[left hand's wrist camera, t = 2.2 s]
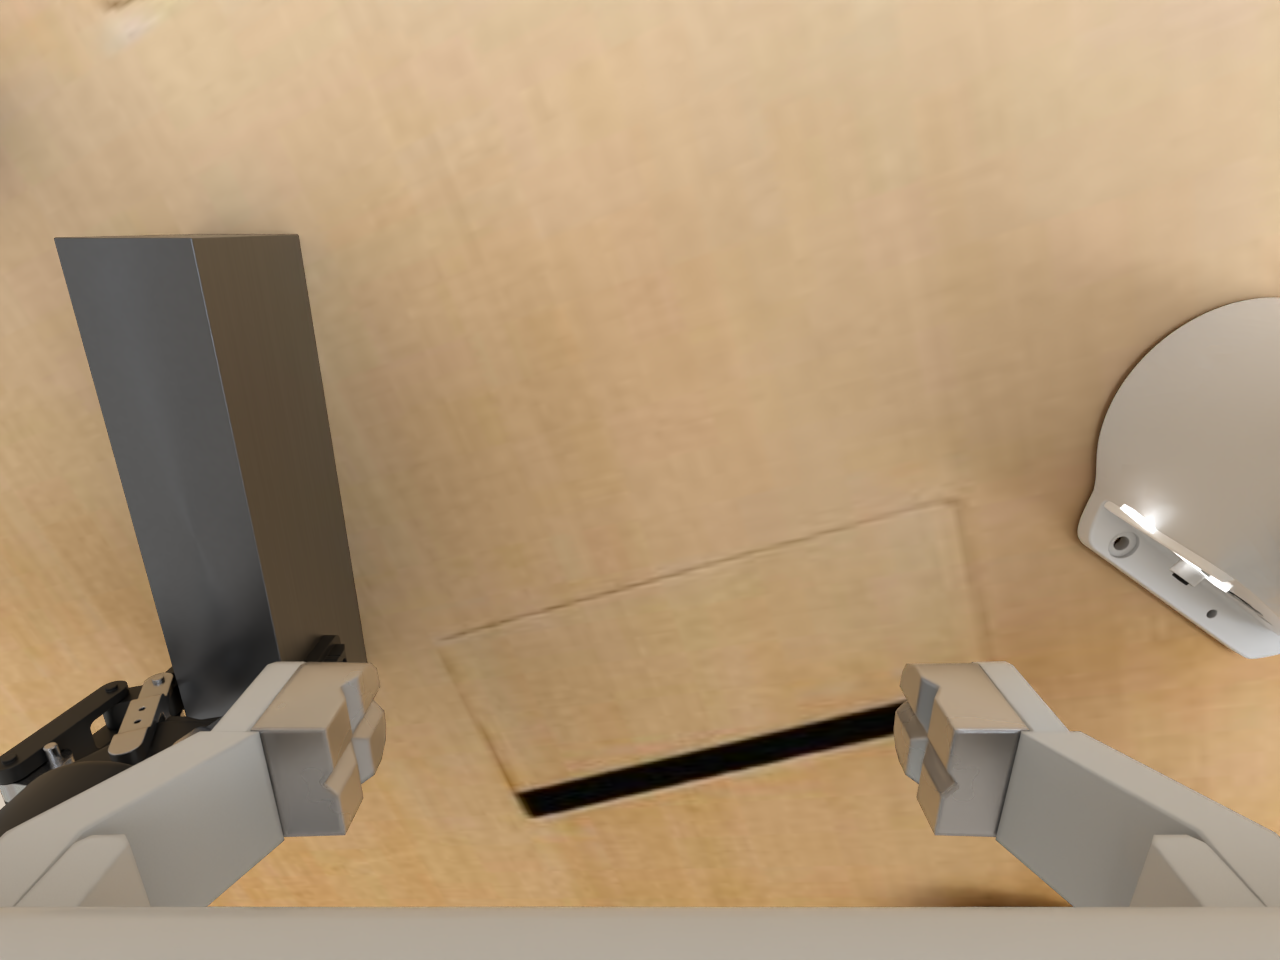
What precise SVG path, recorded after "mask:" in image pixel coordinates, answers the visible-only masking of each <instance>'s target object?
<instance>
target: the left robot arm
mask: <svg viewBox="0 0 1280 960" xmlns="http://www.w3.org/2000/svg"><path fill="white" fill-rule="evenodd" d="M1077 533H1078V538H1079V540H1080V541H1081V542H1082V543H1083V544H1084V545H1085V546H1086V547H1088V548H1089V549H1091V550H1092V551H1093V552H1095V553H1096V554H1098V555H1099V556H1100V557H1102V558H1103V559H1105V560H1106V561H1107V562H1109V563H1110V564H1112V565H1113V566H1114V567H1116V568H1117V569H1118V570H1120V571H1121V572H1123V573H1124V574H1125V575H1127V576H1128V577H1130V578H1131V579H1132V580H1134V581H1135V582H1137V583H1138V584H1139V585H1141V586H1142V587H1144V588H1145V589H1146V590H1148V591H1149V592H1151V593H1152V594H1153V595H1155V596H1156V597H1157V598H1159V599H1160V600H1162V601H1163V602H1164V603H1166V604H1167V605H1169V606H1170V607H1171V608H1173V609H1174V610H1176V611H1177V612H1178V613H1180V614H1181V615H1183V616H1184V617H1185V618H1187V619H1188V620H1190V621H1191V622H1192V623H1194V624H1195V625H1196V626H1198V627H1199V628H1201V629H1202V630H1203V631H1205V632H1206V633H1208V634H1209V635H1210V636H1212V637H1213V638H1215V639H1216V640H1217V641H1219V642H1220V643H1222V644H1223V645H1225V646H1226V647H1227V648H1229V649H1231V650H1232V651H1234V652H1236V653H1238V654H1239V655H1241V656H1243V657H1245V658H1248V659H1256V658H1263V657H1268V656H1273V655H1278V654H1280V297H1267V298H1255V299H1249V300H1244V301H1239V302H1235V303H1232V304H1228V305H1225V306H1222V307H1219V308H1217V309H1214V310H1212V311H1209V312H1207V313H1205V314H1202V315H1201V316H1199V317H1197V318H1195V319H1193V320H1191V321H1189V322H1188V323H1186V324H1184V325H1183V326H1181V327H1180V328H1178V329H1177V330H1175V331H1174V332H1172V333H1171V334H1169V335H1168V336H1167V337H1166V338H1164V339H1163V340H1162V341H1161V342H1159V343H1158V344H1157V345H1156V346H1155V347H1154V348H1153V349H1152V350H1150V351H1149V352H1148V353H1147V354H1146V355H1145V356H1144V357H1143V358H1142V360H1141V361H1140V362H1139V363H1138V364H1137V365H1136V366H1135V367H1134V369H1133V370H1132V371H1131V372H1130V374H1129V375H1128V376H1127V378H1126V379H1125V380H1124V382H1123V384H1122V385H1121V387H1120V388H1119V390H1118V391H1117V393H1116V395H1115V397H1114V398H1113V400H1112V402H1111V404H1110V406H1109V409H1108V411H1107V413H1106V416H1105V419H1104V422H1103V425H1102V428H1101V432H1100V435H1099V440H1098V446H1097V457H1096V479H1095V485H1094V490H1093V492H1092V494H1091V496H1090V498H1089V500H1088V502H1087V504H1086V507H1085V509H1084V511H1083V513H1082V516H1081V518H1080V521H1079V524H1078V529H1077ZM1119 537H1121V538H1120V540H1119V542H1117V543H1116V544H1114V542H1115V540H1116V539H1117V538H1119ZM379 688H380V683H379V677H378V672H377V668H376V667H375V666H374V665H373V664H372V663H347V662H274V663H271V664H268V665H267V666H266V667H265V668H264V669H263V670H262V672H261V673H260V674H259V675H258V676H257V677H256V679H255V680H254V681H253V682H252V683H251V684H250V686H249V687H248V688H247V689H246V690H245V691H244V693H243V694H242V695H241V696H240V697H239V698H238V700H237V701H236V702H235V703H234V704H233V705H232V707H231V708H230V709H229V710H228V711H227V713H226V714H225V715H224V716H223V717H222V718H221V720H220V721H219V722H218V723H217V724H216V725H215V727H214V728H213V729H212V730H211V731H200V732H198V733H196V734H194V735H192V736H190V737H188V738H186V739H184V740H182V741H180V742H178V743H176V744H175V745H173V746H171V747H169V748H167V749H165V750H163V751H161V752H159V753H157V754H155V755H153V756H151V757H149V758H148V759H146V760H144V761H142V762H140V763H138V764H136V765H134V766H132V767H130V768H128V769H126V770H124V771H122V772H120V773H119V774H117V775H115V776H113V777H111V778H109V779H107V780H105V781H103V782H101V783H99V784H97V785H95V786H93V787H91V788H90V789H88V790H86V791H84V792H82V793H80V794H78V795H76V796H74V797H72V798H70V799H68V800H66V801H64V802H63V803H61V804H59V805H57V806H55V807H53V808H51V809H49V810H47V811H45V812H43V813H41V814H39V815H37V816H35V817H34V818H32V819H30V820H28V821H26V822H24V823H22V824H20V825H18V826H16V827H14V828H12V829H10V830H8V831H7V832H5V833H4V834H3V835H2V836H1V837H0V960H1280V837H1279V836H1278V835H1277V834H1276V833H1275V832H1273V831H1271V830H1269V829H1267V828H1265V827H1263V826H1261V825H1259V824H1258V823H1256V822H1254V821H1252V820H1250V819H1248V818H1246V817H1244V816H1242V815H1240V814H1238V813H1236V812H1234V811H1232V810H1231V809H1229V808H1227V807H1225V806H1223V805H1221V804H1219V803H1217V802H1215V801H1213V800H1211V799H1209V798H1207V797H1206V796H1204V795H1202V794H1200V793H1198V792H1196V791H1194V790H1192V789H1190V788H1188V787H1186V786H1184V785H1182V784H1180V783H1179V782H1177V781H1175V780H1173V779H1171V778H1169V777H1167V776H1165V775H1163V774H1161V773H1159V772H1157V771H1155V770H1154V769H1152V768H1150V767H1148V766H1146V765H1144V764H1142V763H1140V762H1138V761H1136V760H1134V759H1132V758H1130V757H1128V756H1127V755H1125V754H1123V753H1121V752H1119V751H1117V750H1115V749H1113V748H1111V747H1109V746H1107V745H1105V744H1103V743H1102V742H1100V741H1098V740H1096V739H1094V738H1092V737H1090V736H1088V735H1086V734H1084V733H1082V732H1080V731H1069V730H1068V729H1067V728H1066V727H1065V725H1064V724H1063V723H1062V722H1061V721H1060V720H1059V718H1058V717H1057V716H1056V715H1055V714H1054V713H1053V711H1052V710H1051V709H1050V708H1049V707H1048V706H1047V704H1046V703H1045V702H1044V701H1043V700H1042V699H1041V697H1040V696H1039V695H1038V694H1037V693H1036V691H1035V690H1034V689H1033V688H1032V687H1031V686H1030V684H1029V683H1028V682H1027V681H1026V680H1025V679H1024V677H1023V676H1022V675H1021V674H1020V673H1019V672H1018V670H1017V669H1016V668H1015V667H1014V666H1013V665H1012V664H1010V663H1008V662H1006V661H993V662H972V663H931V664H906V666H905V668H904V670H903V672H902V676H901V682H900V688H901V690H902V691H903V693H904V695H905V697H906V699H907V700H906V701H905V702H904V703H903V704H902V705H901V706H900V707H899V708H898V709H897V710H896V714H895V723H894V737H895V748H896V751H897V755H898V758H899V762H900V764H901V766H902V768H903V770H904V773H905V775H907V776H908V777H910V778H911V779H912V780H914V781H915V782H917V783H918V784H919V787H918V793H917V800H918V802H919V804H920V806H921V808H922V810H923V812H924V814H925V816H926V818H927V820H928V822H929V824H930V826H931V828H932V830H933V832H934V834H935V835H948V836H984V837H996V841H998V842H999V843H1000V844H1001V845H1002V846H1003V847H1005V848H1006V849H1007V850H1008V851H1009V852H1010V853H1012V854H1013V855H1014V856H1015V857H1016V858H1017V859H1019V860H1020V861H1021V862H1022V863H1023V864H1024V865H1026V866H1027V867H1028V868H1029V869H1030V870H1031V871H1033V872H1034V873H1035V874H1036V875H1037V876H1038V877H1040V878H1041V879H1042V880H1043V881H1044V882H1045V883H1047V884H1048V885H1049V886H1050V887H1051V888H1052V889H1054V890H1055V891H1056V892H1057V893H1058V894H1059V895H1061V896H1062V897H1063V898H1064V899H1065V900H1066V901H1067V902H1069V903H1070V904H1071V905H1072V906H1073V907H207V906H208V905H209V904H210V903H212V902H213V901H214V900H215V899H216V898H217V897H219V896H220V895H221V894H222V893H223V892H224V891H226V890H227V889H228V888H229V887H230V886H231V885H233V884H234V883H235V882H236V881H237V880H238V879H240V878H241V877H242V876H243V875H244V874H245V873H247V872H248V871H249V870H250V869H251V868H252V867H254V866H255V865H256V864H257V863H258V862H259V861H261V860H262V859H263V858H264V857H265V856H266V855H268V854H269V853H270V852H271V851H272V850H273V849H275V848H276V847H277V846H278V845H279V844H280V843H282V842H283V841H284V837H296V836H330V835H345V834H346V832H347V830H348V828H349V826H350V824H351V822H352V820H353V818H354V816H355V814H356V812H357V810H358V808H359V806H360V804H361V802H362V800H363V793H362V787H361V784H362V783H363V782H365V781H366V780H368V779H369V778H370V777H372V776H373V775H375V773H376V770H377V768H378V766H379V764H380V762H381V759H382V755H383V750H384V746H385V741H386V721H385V714H384V710H383V709H382V708H381V707H380V706H379V705H378V704H377V703H376V702H375V701H374V700H373V699H374V697H375V695H376V693H377V691H378V690H379Z"/></svg>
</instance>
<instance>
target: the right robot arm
mask: <svg viewBox="0 0 1280 960" xmlns="http://www.w3.org/2000/svg"><path fill="white" fill-rule="evenodd" d="M303 662H347V663H348V660H347V654H346V649H345V644H341V641H340V637H339V635H324V636H322V638H321V639H320V640H319V642H318V643H317V644H316V646H315V647H314V648H313V650H312V651H311V652H310V653H309V655H308V656H307V657H306V659H305V660H304V661H303ZM183 710H184V706H183V702H182V699H181V695H180V692H179V688H178V684H177V681H176V677H175V673H174V670H173V666H172V667H171V668H170V669H169V670H168V671H167V672H166V673H159V674H156V675H153V676H151V677H150V678H148V679H147V680H146V681H145V682H144V684H143V685H142V686H136V687H131V688H128V685H127V682H125V681H114V682H111V683H108V684H106V685H104V686H102V687H100V688H99V689H98V690H96V691H95V692H93V693H92V694H90V695H89V696H87V697H86V698H84V699H83V700H82V701H80V702H79V703H77V704H76V705H74V706H73V707H71V708H70V709H69V710H67V711H66V712H64V713H63V714H61V715H60V716H58V717H57V718H55V719H54V720H53V721H51V722H50V723H48V724H47V725H45V726H44V727H42V728H41V729H39V730H38V731H37V732H35V733H34V734H32V735H31V736H29V737H28V738H26V739H25V740H24V741H22V742H21V743H19V744H18V745H16V746H15V747H13V748H12V749H10V750H9V751H8V752H6V753H5V754H3V755H2V756H0V792H1V794H2V797H3V799H4V802H5V804H6V805H5V806H4V807H3V808H2V809H1V810H0V837H1V836H2V835H3V834H4V833H5V832H7V831H8V830H10V829H12V828H14V827H16V826H18V825H20V824H22V823H24V822H26V821H28V820H30V819H32V818H34V817H35V816H37V815H39V814H41V813H43V812H45V811H47V810H49V809H51V808H53V807H55V806H57V805H59V804H61V803H63V802H64V801H66V800H68V799H70V798H72V797H74V796H76V795H78V794H80V793H82V792H84V791H86V790H88V789H90V788H91V787H93V786H95V785H97V784H99V783H101V782H103V781H105V780H107V779H109V778H111V777H113V776H115V775H117V774H119V773H120V772H122V771H124V770H126V769H128V768H130V767H132V766H134V765H136V764H138V763H140V762H142V761H144V760H146V759H148V758H149V757H151V756H153V755H155V754H157V753H159V752H161V751H163V750H165V749H167V748H169V747H171V746H173V745H175V744H176V743H178V742H180V741H182V740H184V739H186V738H188V737H190V736H192V735H194V734H196V733H198V732H200V731H211V730H212V729H213V728H214V727H215V725H216V724H217V723H218V722H219V721H220V720H221V718H222V717H223V716H224V715H223V716H220V717H214V718H207V719H196V718H191V717H186V716H184V713H183ZM102 714H103V716H104V719H105V722H106V725H105V726H104V727H102V728H101V729H100V730H98V731H97V732H96V733H94V734H93V735H92V733H91V730H90V727H91V724H92V722H93V721H94V720H95V719H97V718H98V717H100V716H101V715H102Z"/></svg>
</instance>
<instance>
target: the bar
mask: <svg viewBox="0 0 1280 960" xmlns="http://www.w3.org/2000/svg"><path fill="white" fill-rule="evenodd" d="M54 240H55V244H56V248H57V251H58V255H59V258H60V262H61V266H62V269H63V273H64V276H65V280H66V284H67V287H68V291H69V294H70V298H71V302H72V305H73V309H74V313H75V316H76V320H77V323H78V327H79V331H80V334H81V338H82V341H83V345H84V349H85V352H86V356H87V359H88V363H89V367H90V370H91V374H92V378H93V381H94V385H95V388H96V392H97V396H98V399H99V403H100V406H101V410H102V414H103V417H104V421H105V424H106V428H107V432H108V435H109V439H110V442H111V446H112V450H113V453H114V457H115V461H116V464H117V468H118V471H119V475H120V479H121V482H122V486H123V489H124V493H125V497H126V500H127V504H128V507H129V511H130V515H131V518H132V522H133V526H134V529H135V533H136V536H137V540H138V544H139V547H140V551H141V554H142V558H143V562H144V565H145V569H146V572H147V576H148V580H149V583H150V587H151V590H152V594H153V598H154V601H155V605H156V609H157V612H158V616H159V619H160V623H161V627H162V630H163V634H164V637H165V641H166V645H167V648H168V652H169V655H170V659H171V663H172V666H173V670H174V673H175V677H176V681H177V684H178V688H179V692H180V695H181V699H182V702H183V706H184V710H185V713H186V717H191V718H196V719H207V718H214V717H220V716H223V715H225V714H226V713H227V711H228V710H229V709H230V708H231V707H232V705H233V704H234V703H235V702H236V701H237V700H238V698H239V697H240V696H241V695H242V694H243V693H244V691H245V690H246V689H247V688H248V687H249V686H250V684H251V683H252V682H253V681H254V680H255V679H256V677H257V676H258V675H259V674H260V673H261V672H262V670H263V669H264V668H265V667H266V666H267V665H268V664H271V663H274V662H303V661H304V660H305V659H306V657H307V656H308V655H309V653H310V652H311V651H312V650H313V648H314V647H315V646H316V644H317V643H318V642H319V640H320V639H321V638H322V636H324V635H339V637H340V641H341V644H345V649H346V654H347V660H348V663H367V659H366V653H365V647H364V641H363V634H362V628H361V622H360V616H359V609H358V603H357V597H356V591H355V585H354V578H353V572H352V566H351V560H350V553H349V547H348V541H347V535H346V529H345V522H344V516H343V510H342V504H341V497H340V491H339V485H338V479H337V473H336V466H335V460H334V454H333V448H332V441H331V435H330V429H329V423H328V417H327V410H326V404H325V398H324V392H323V385H322V379H321V373H320V367H319V361H318V354H317V348H316V342H315V336H314V329H313V323H312V317H311V311H310V305H309V298H308V292H307V286H306V280H305V273H304V267H303V261H302V255H301V249H300V242H299V236H298V235H297V234H183V235H142V236H100V237H59V238H54Z"/></svg>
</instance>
